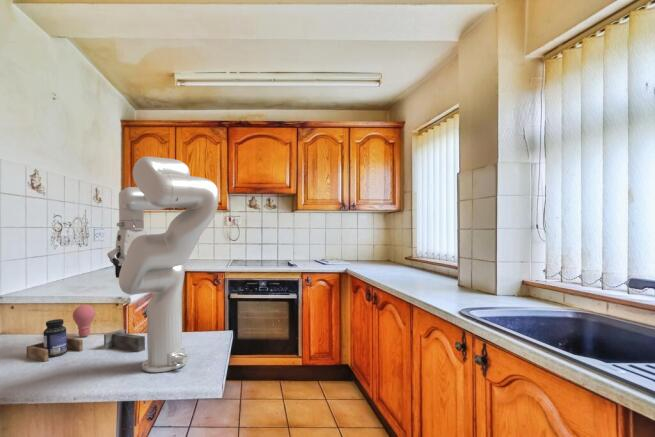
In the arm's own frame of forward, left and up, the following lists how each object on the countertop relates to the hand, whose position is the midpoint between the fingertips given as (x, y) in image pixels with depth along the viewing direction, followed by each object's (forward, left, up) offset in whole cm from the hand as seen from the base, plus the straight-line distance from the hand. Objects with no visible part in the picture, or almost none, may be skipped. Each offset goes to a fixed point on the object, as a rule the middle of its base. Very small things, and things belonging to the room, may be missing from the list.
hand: (132, 275), depth 131 cm
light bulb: (+29, -1, -25) cm, 38 cm away
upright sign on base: (+2, +2, -25) cm, 25 cm away
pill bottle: (+18, +15, -25) cm, 34 cm away
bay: (+18, +15, -24) cm, 34 cm away
